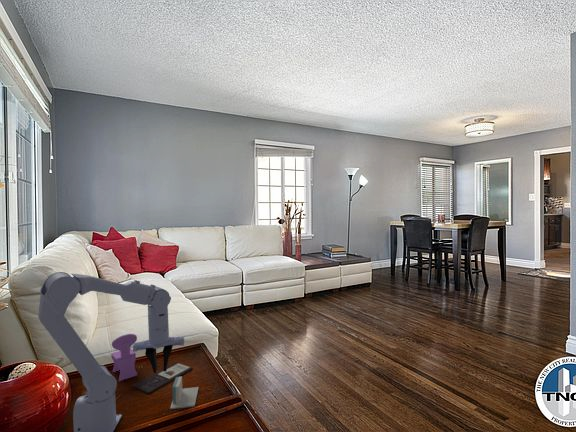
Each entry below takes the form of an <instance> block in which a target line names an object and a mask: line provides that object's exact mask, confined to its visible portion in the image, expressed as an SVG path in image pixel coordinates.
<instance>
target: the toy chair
mask: <svg viewBox="0 0 576 432" xmlns="http://www.w3.org/2000/svg"><path fill="white" fill-rule="evenodd" d="M137 341H138V337H137V335H136V334H135V333H128V334H127V333H126V334H123V335H121V336H118V337H116V338H115V339H113V341H112V342H111V347H112V348H113V349H114V350H117V351H115V352H111V354H110V355H111V360H112V361H113V369H112V372H115V373H117V372H116V371H118V372H119V377H118V382H122V381H124V379H125V380H127V379H129V378H133V377H136V376H139V375H138V372H137V371H136V368H135V363H136V360H137V356H136V351H135V352H133V348H131V347H133V344H134V343H137ZM119 370H120V371H119Z"/></svg>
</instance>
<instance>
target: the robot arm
mask: <svg viewBox="0 0 576 432" xmlns="http://www.w3.org/2000/svg"><path fill="white" fill-rule="evenodd" d="M70 274H71V275H70ZM70 274H69V273H67V272H64V271H58V272H53V273H51V274H50V275H49V276H47V277H46V279H45V280H44V282H43V284H42V286H41V287H40V291H39V293H40V295H39V296H40V297H39V305H38V306H39V307H38V314H37V318H38V320H39V321H40V323H41V324H42V326H43V327H44V328H45V330H46V331H47V332H48V334H49V335H50V336H51V338H52V339H53V340H54V341H55V343H56V344H57V346H58V347H59V348H60V350H62V352H63V353H64V355H65V356H66V358H67V359H68V360H69V361H70V363H71V364H72V365H73V366H74V368H75V369H76V371H78V373H79V374H80V376H81V377H82V385H83V386H84V388H86V391H85V394H84V395H81V396H79V397H78V398H77V399H76V401H75V404H74V405H73V411H72V412H73V413H72V416H73V417H72V419H73V421H72V422H73V432H114V431H115V430H116V427H117V425H118V424H119V422H120V420H121V418H122V416H123V415H122V414H117V408H116V407H117V405H116V390H117V386H118V382H117V379H116V378H115V376H114V375H112V374H111V372H110V371H109V370H108V368H107V367H106V366H105V365H103V364H100V363H99V362H98V360H97V359H96V358H95V356H94V355H93V354H92V353H91V351H90V350H89V348H88V346H87V345H86V344H85V342H84V341H83V340H82V338H81V337H80V336H79V334H78V332H76V330H75V329H74V327H73V325H72V324H70V323H71V322H70V321H68V319H67V318H66V317H65V314H66V312H67V310H68V307H69V305H70V304H71V303H72V302H73V300H75V298H76V297H77V296H78V295H80V296H83V295H85V294H89V293H90V292H95V293H103V294H109V295H116V296H120V298H121V300H122V302H125V303H126V302H127V303H132V304H138V305H143V306H147V320H148V321H147V322H148V324H147V327H148V340H147V339H146V340H143V341H139V342H137V341H136V342H135V343H134V344H133V345H132V350H133V352H135V353H136V352H138V351H143V350H145V353H144V354H145V355H144V356H145V357H146V358H147V360H148V361H149V363H150V366H151V367H152V371H153V374H155V373H157V372H158V362H157V349H161V348H162V349H163V350H162V355H163V369H164V372H165V371H166V370H167V367H168V362H169V358H170V356H171V353H172V351H173V348H174V346H181V347H182V346H185V336H181V337H179V336H178V337H176V336H175V337H173V336H172V337H171V336H170V332H169V331H170V329H169V307H168V306H169V304H170V302H171V300H172V297H171V296H170V293H169V292H168V290H167V289H164V288H162V287H159V286H156V285H155V284H152V283H151V284H149V285H148V284H145V283H141V281H139V280H136V279H134V281H131V280H129V281H128V282H126V283H119V282H115V281H113V280H112V281H111V280H108V279H104V278H100V277H96V276H91V275H89V274H88V275H87V274H81V273H70Z"/></svg>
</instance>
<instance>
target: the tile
mask: <svg viewBox="0 0 576 432" xmlns="http://www.w3.org/2000/svg"><path fill="white" fill-rule="evenodd" d="M171 389H172V401H173V404H175V403H179V402H180V399H181V396H182V392H183V389H184V388H183V376H180V377H176V379H175V380H174V381H173V384H172V387H171Z"/></svg>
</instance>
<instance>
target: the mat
mask: <svg viewBox="0 0 576 432" xmlns="http://www.w3.org/2000/svg"><path fill="white" fill-rule="evenodd" d="M199 387H200V386H195V387H184V388H182V389H183V392H182V396H181V399H180V402H179V403H175V404H173V400H172V401H171V404H170V408H169V410H176V409H177V410H178V409H185V408H193V407H195V406H196V402H197V398H198V394H199Z"/></svg>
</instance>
